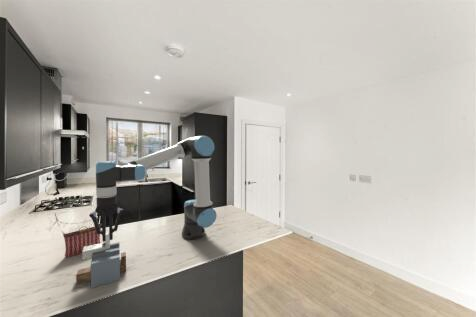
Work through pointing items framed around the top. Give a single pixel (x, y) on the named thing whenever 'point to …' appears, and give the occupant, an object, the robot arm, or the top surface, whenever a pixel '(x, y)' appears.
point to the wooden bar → (85, 273)
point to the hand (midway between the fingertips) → (107, 247)
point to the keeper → (93, 250)
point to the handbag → (79, 239)
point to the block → (106, 266)
